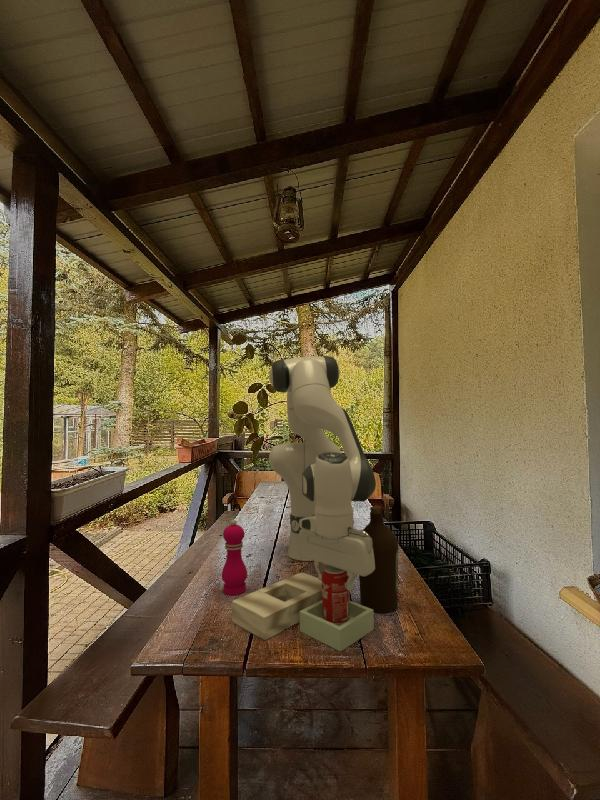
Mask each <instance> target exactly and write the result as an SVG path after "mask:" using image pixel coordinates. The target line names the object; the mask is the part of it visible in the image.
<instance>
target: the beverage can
mask: <svg viewBox="0 0 600 800" xmlns="http://www.w3.org/2000/svg"><path fill="white" fill-rule="evenodd" d="M348 578H349V576H348V575H347V571H345V570H342V569H339V568H336V567H333V566H330V565H326V566H324V571H323V573H322V608H323V618H324V620H326V621H328V622H331V623H333V624H335V625H337V626H341V625H343V624H344V623H346V622H347V621H348V620H349V619H350V601H351V596H350V595H351V594H350V592H351V591H349V590H346V589H344V581H347V580H348Z"/></svg>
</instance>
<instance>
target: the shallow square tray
mask: <svg viewBox="0 0 600 800" xmlns="http://www.w3.org/2000/svg"><path fill="white" fill-rule="evenodd" d="M374 618H375V617H374V612H373V609H370V608H368V607H365V606H363V605H361V603H357V602H354V601H351V600H350V619H349V620H348V621H347V622H346V623H344V624H343V625H341V626H337V625H335V624H333V623H331V622H328V621H326V620H324V618H323V608H322V600H321V601H319V602H317V603H315V604H313V605H311V606H309V607H307V608H305V609H303V610H301V611H300V622H299V632H301V633H303V634H304V635H306V636H308V637H310V638H313V639H314V640H317V641H319V642H320V643H323V644H324V645H326V646H329V647H330V648H333V649H335V651H336V650H337V651H339V652H342V651H344V650H346V649H347V648H348V647H350V646H351V645H353V644H354V643H356V642H357V641H359V640H360V639H362V638H363V637H365V636H367V635H368V634H369V633H370V631H371V632H373V631H374V630H373V629H375V624H374V622H375V621H374ZM367 633H368V634H367Z"/></svg>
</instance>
